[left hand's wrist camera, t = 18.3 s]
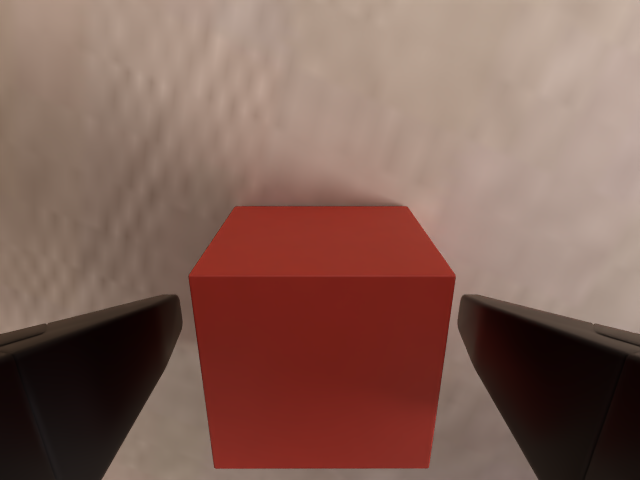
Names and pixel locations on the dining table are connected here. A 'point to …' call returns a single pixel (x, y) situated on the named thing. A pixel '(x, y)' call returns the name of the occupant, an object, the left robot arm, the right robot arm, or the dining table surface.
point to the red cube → (321, 337)
